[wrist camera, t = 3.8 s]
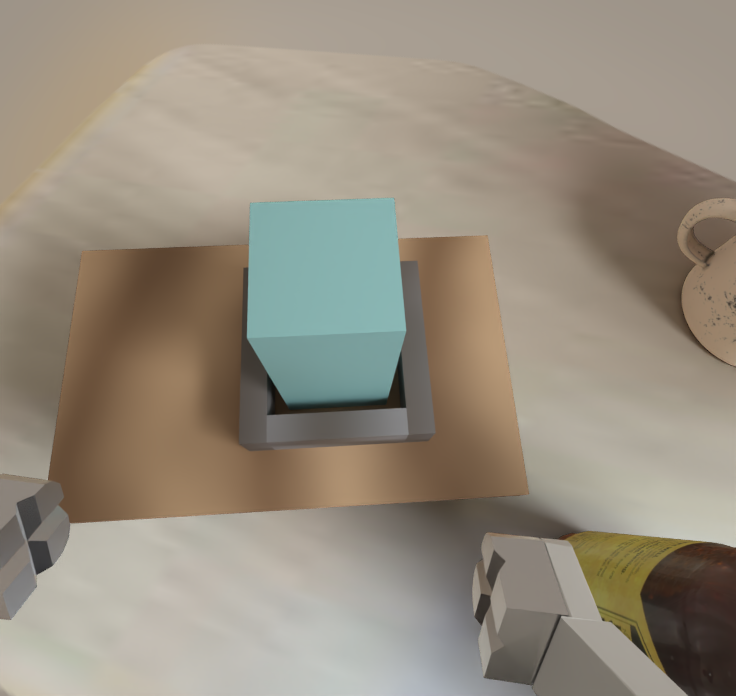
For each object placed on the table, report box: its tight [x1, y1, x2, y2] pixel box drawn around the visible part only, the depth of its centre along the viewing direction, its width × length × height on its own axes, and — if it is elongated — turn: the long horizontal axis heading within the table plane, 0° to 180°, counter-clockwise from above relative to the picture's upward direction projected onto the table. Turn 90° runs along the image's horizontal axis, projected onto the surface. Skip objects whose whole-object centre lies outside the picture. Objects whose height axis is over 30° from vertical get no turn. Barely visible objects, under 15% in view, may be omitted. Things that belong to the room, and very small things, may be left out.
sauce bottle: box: [557, 531, 736, 696], centre depth 18 cm, size 6×6×20 cm
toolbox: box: [48, 235, 529, 523], centre depth 24 cm, size 19×12×12 cm, turn 93°
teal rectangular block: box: [247, 198, 406, 410], centre depth 17 cm, size 4×4×8 cm
